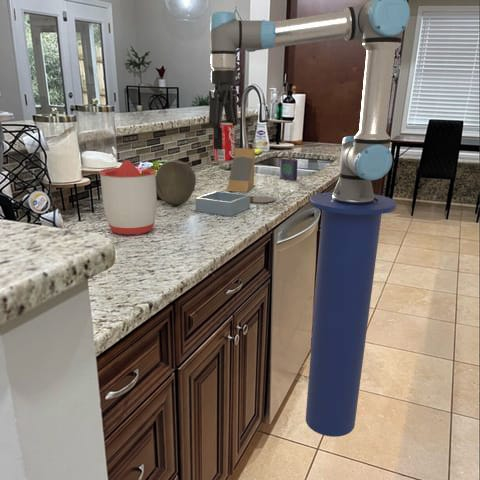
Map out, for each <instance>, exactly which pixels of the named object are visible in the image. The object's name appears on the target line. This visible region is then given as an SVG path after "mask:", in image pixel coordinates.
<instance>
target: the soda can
mask: <svg viewBox="0 0 480 480" xmlns="http://www.w3.org/2000/svg"><path fill="white" fill-rule="evenodd" d="M232 124H233V123H227V122H221V125H220V127H222V149H214V137H213V135H214V134H213V133H212V149H213V150H212V152H213V153H212V156H213V160H214V161H215V162H216V163H218V164H228V163H229V164H230V163H233V160H234V158H235V148H236V133H235V132H236V131H235V130H236V129H235V126H234V127H233V125H232Z"/></svg>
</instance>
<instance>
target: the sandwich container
mask: <svg viewBox="0 0 480 480" xmlns="http://www.w3.org/2000/svg"><path fill="white" fill-rule="evenodd" d="M255 154H256V149H255V148H246V147H235V158H234V160H233V161H232V162H231V163H232V164H231V169H230V174H229V178H228V183H227V189H226V192H235V193H236V192H237V193H238V192H239V193H241V192H242V193H248V192H249V191H250V190H251V189H252V188H253V187H254V185H255V184H254V183H255V157H256V155H255Z"/></svg>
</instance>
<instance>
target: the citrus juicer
mask: <svg viewBox="0 0 480 480" xmlns="http://www.w3.org/2000/svg"><path fill="white" fill-rule="evenodd" d="M156 173H157V170H156V169H154V168H151V167H147V168H146V169H144V170H143V174H141V172H140V170H138V168H137V167H136V166H135V164H134V163H132V162H131V161H130V160H129V159H125V160H124V161H123V162H122V163H121V165H120V166H119V167H110V168H105V169H104V168H103V169H102V170H99V171H98V174H99V176H100V177H99V179H100V187H101V198H102V207H103V211H104V214H105V218H106V221H107V224H108V226H109V228H110V230H111V232H112V233H114V234H118V235H135V236H140V235H142V234H146V233H148V232H150V231H151V232H152V230H153V228H154V225H155V223H156V222H155V220H156V216H157V211H158V198H157V197H158V194H157V192H156Z"/></svg>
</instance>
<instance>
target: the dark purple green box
mask: <svg viewBox="0 0 480 480" xmlns="http://www.w3.org/2000/svg"><path fill="white" fill-rule="evenodd" d="M298 162H299V161H298V159H296V158H293V156H292V154H287V157H281V158H280V167H279V168H280V169H279V170H280V171H279V179H281V180H288V181H291V182H292V181H293V182H296V181H298Z"/></svg>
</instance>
